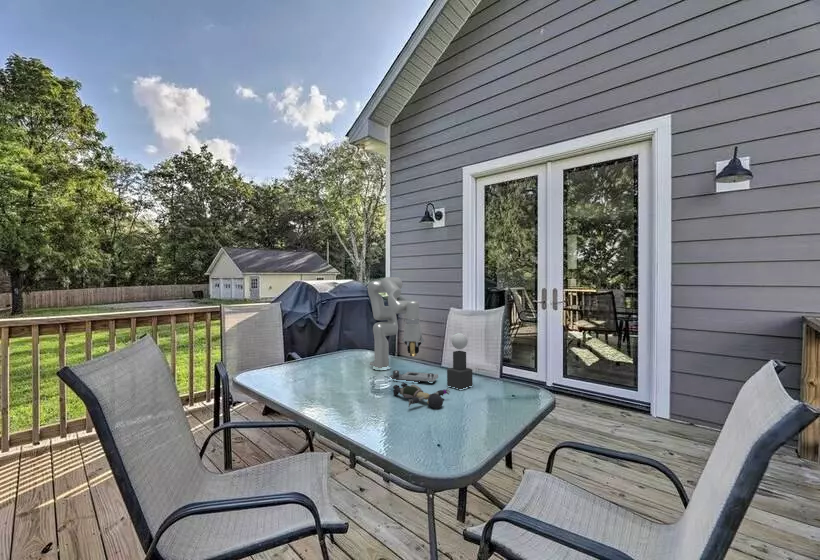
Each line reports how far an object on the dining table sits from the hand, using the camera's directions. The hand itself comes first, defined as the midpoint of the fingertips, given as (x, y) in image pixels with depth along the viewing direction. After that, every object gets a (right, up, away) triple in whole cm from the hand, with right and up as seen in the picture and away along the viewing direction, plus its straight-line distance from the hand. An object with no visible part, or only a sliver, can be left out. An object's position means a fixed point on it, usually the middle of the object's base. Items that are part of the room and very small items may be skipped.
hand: (413, 352), depth 218 cm
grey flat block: (0, -17, 0) cm, 17 cm away
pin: (0, -2, 0) cm, 2 cm away
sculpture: (+26, -17, -13) cm, 34 cm away
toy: (+2, -17, -38) cm, 42 cm away
